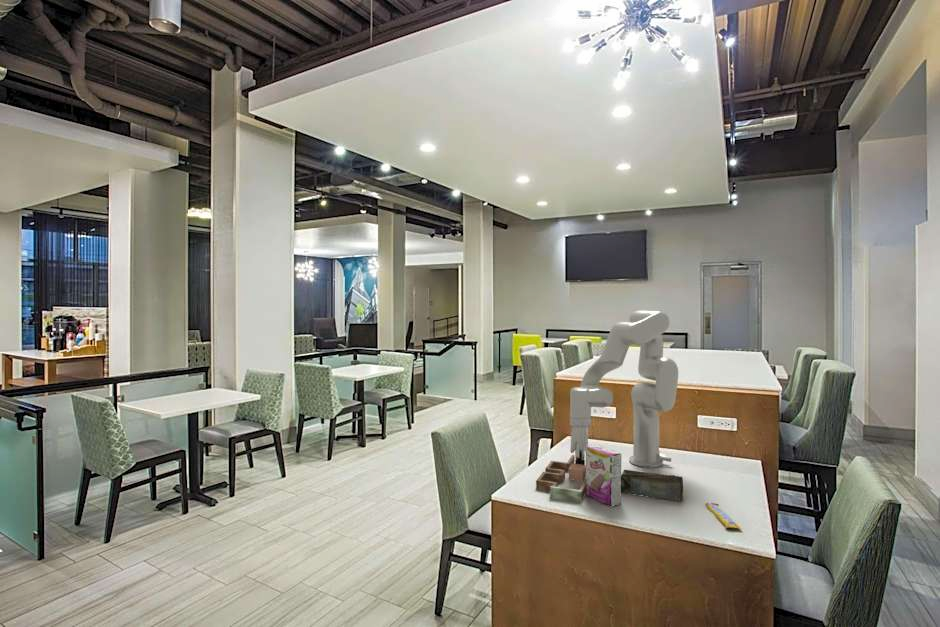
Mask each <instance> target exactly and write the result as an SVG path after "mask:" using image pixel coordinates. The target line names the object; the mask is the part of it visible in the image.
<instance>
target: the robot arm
mask: <svg viewBox="0 0 940 627" xmlns="http://www.w3.org/2000/svg"><path fill="white" fill-rule="evenodd" d="M628 319H629V320H628V321H619V322H616V323H614V324H613V325H612V327H611V328H610V331H609V334H608V336H607V339H606V340H605V341H606V342H605V344H604V347H603V349H602V352H601V354H600V356H599V358H598V359H597V360H595V361H594V362H593V363H592V365H591V366H590V367H589V368H588V369H587V370H586V372H585V373H584V376H583V377H582V380H581V382H580V385H579V386H577V387H576V386H575V387H572V388H570V391H569V393H570V394H569V400H570V401H569V402H570V404H569V408H570V409H569V426H571V434H570V435H571V436H570V449H569V450H570V453H571V454H573V453H575V454H574V455H575V463H574V464H580V465H586V446H589V428H590V427H591V426H592V423H591V422H592V408H601V409H602V408H607V407H609V406H610V405H611V404H612V403H613V401H614V395H613V392H612V391H611V390H610V389H609V388H606V387H603V386H601V385H599V384H600V381H601V379H602V378H603V377H604V376H605V375H606V374H608V373H610V372H612V371H615V370H616V369H619V368H621V367H622V366H623V364H624V361H625V359H626V356H627V353H628V350H629V348H630V346H637V347H638V346H640V348H639V357H638V366H637V368H638V369H637V370H638V371H637V372H638V374H639V375H640V377H641V378H643V379H647V380H651V381H655V383H652V382H648V381H646V382H645V381H643V382H642V381H641V382H638V383H636V384H635V385H634V386H633V387H632V389H631V393H630V394H631V396H630V397H631V403H632V408H633V445H632V446H633V449H632V450H633V451H632V452H633V455H631V456H630V457H629V458H628V459H629V460H628V461H629V463H631V464H633V465H635V466H637V467H642V468H659V467H663V465H664V461H665V462H672V456H669V455H668V454H662V453H661V450H660V414H659V412H664V413H666V412H668V411H670V410H672V409H673V407H674V405H675V403H676V398H677V390H678V383H679V368H678V367H679V366H678V364H677V363H676V361H675V360H673V359H672V358H670V357H665V356H664V340H663V337H662V334H664V333H665V332H666V331H667V330H668V329H669V327H670V318H669V316H668V314H667V313H666V312H663V311H661V310H660V311H659V310H642V309H641V310H635V311H632V313H630V315H629V318H628Z"/></svg>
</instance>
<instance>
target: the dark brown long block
mask: <svg viewBox="0 0 940 627" xmlns="http://www.w3.org/2000/svg"><path fill="white" fill-rule="evenodd" d="M621 492H623V493H622V494H627V493H630V494H629V495H633V494H636V495H635V496H638V495H643V496H642V497H645V496H648V497H647V498H652V497H654V499H659V498H660V499H661V500H668V501H671V502H672V501H673V502H679V503H682V499H683V495H684V481H683V476H678V475H673V474H670V475H669V474H661V473H653V472H646V471H640V470H632V469H631V470H630V469H623V471H622V472H621Z"/></svg>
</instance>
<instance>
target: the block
mask: <svg viewBox="0 0 940 627" xmlns="http://www.w3.org/2000/svg"><path fill="white" fill-rule="evenodd" d="M585 477H586V464H585V465H580V464H575V463H573V464H572V465H571V466H570V467H569V472H568V480H570V479H574V480H573V481H576V480H579V481H578V482H582V481H583V482H584V480H585Z"/></svg>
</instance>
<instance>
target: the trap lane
mask: <svg viewBox="0 0 940 627" xmlns="http://www.w3.org/2000/svg"><path fill="white" fill-rule="evenodd" d="M574 462H575V454H572V455H571V456H570V458H569V459H568V461H567V462H565V461H564V462H563V461H556V460H551V461H550V462H549V463H548V464H547V466H546V467H545V471H542V472H541V474H540V475H539V476H538V478H537V479H536V481H535V482H536V484H535V486H536V487H535V489H536V490H537V491H538V490H539V491H545V492H549V498H550V499H553V498H554V499H553V500H559V499H560V501H566V500H568V501H567V502H572V501H574V503H579V502H581V503H583V500H584V498H583V497H585V496H586V478H585V479H584V480H583V482H582V484H581V486H580V487H579V489H574V488H567V487H559V484H561V483H562V484H563V483H564V481H565V480H564V479H566V473H567V471H569V467H570V466H571V465H572V464H573V463H574ZM574 464H575V463H574ZM584 495H585V496H584Z"/></svg>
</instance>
